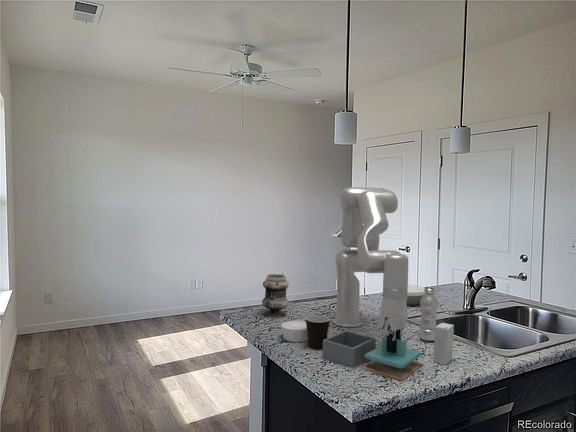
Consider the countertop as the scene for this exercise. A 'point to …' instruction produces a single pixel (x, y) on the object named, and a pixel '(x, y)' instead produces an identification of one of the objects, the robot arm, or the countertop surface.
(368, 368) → the wooden board
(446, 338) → the skincare box
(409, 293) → the bowl
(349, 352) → the tub
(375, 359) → the lid
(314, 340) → the coffee mug
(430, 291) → the plastic bottle
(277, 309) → the apothecary jar
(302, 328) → the ramekin
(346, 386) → the countertop surface
